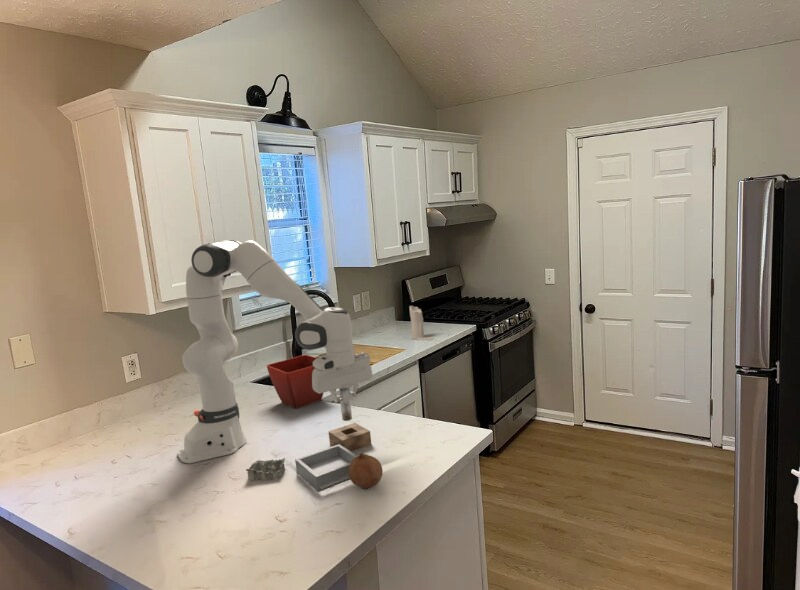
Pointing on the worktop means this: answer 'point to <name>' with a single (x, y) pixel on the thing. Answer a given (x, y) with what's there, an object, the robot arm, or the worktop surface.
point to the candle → (417, 324)
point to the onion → (365, 471)
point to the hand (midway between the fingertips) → (345, 399)
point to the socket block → (350, 437)
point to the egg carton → (265, 466)
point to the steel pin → (345, 402)
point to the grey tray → (327, 476)
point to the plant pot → (294, 381)
